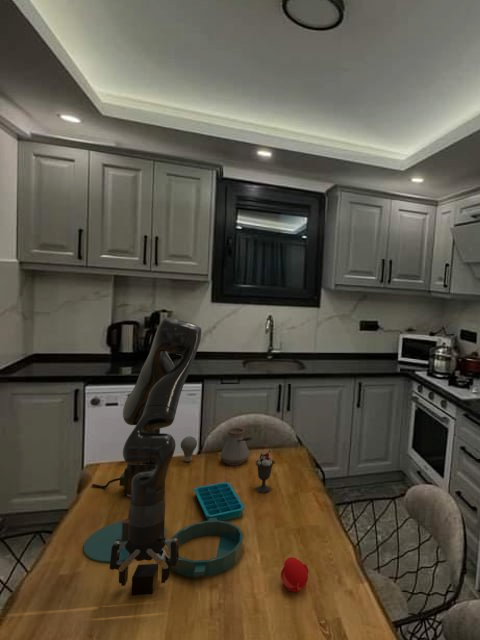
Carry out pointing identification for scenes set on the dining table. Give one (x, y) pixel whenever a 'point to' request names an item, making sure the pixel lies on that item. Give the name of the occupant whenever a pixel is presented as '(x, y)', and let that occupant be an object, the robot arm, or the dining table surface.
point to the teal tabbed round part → (226, 551)
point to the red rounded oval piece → (294, 574)
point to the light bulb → (188, 447)
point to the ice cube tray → (219, 501)
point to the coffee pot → (235, 447)
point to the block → (144, 579)
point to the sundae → (264, 471)
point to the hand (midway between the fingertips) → (144, 582)
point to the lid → (107, 541)
